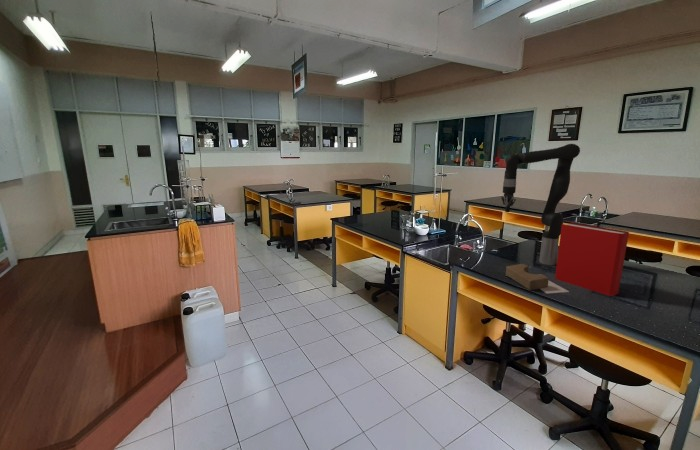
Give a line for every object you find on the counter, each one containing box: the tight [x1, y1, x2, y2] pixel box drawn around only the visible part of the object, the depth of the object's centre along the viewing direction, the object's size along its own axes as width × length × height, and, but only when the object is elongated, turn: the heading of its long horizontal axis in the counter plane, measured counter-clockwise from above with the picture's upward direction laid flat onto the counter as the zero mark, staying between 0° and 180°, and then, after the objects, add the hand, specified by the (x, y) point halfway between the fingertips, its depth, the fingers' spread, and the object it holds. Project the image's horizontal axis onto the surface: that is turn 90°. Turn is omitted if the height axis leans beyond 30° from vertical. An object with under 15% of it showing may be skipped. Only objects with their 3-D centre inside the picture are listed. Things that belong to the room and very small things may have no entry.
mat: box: [537, 273, 570, 295], centre depth 174 cm, size 12×22×2 cm, turn 6°
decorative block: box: [505, 263, 550, 291], centre depth 177 cm, size 11×6×20 cm
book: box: [554, 222, 630, 297], centre depth 169 cm, size 27×8×32 cm, turn 30°
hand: (507, 211), depth 212 cm, fingers closed
